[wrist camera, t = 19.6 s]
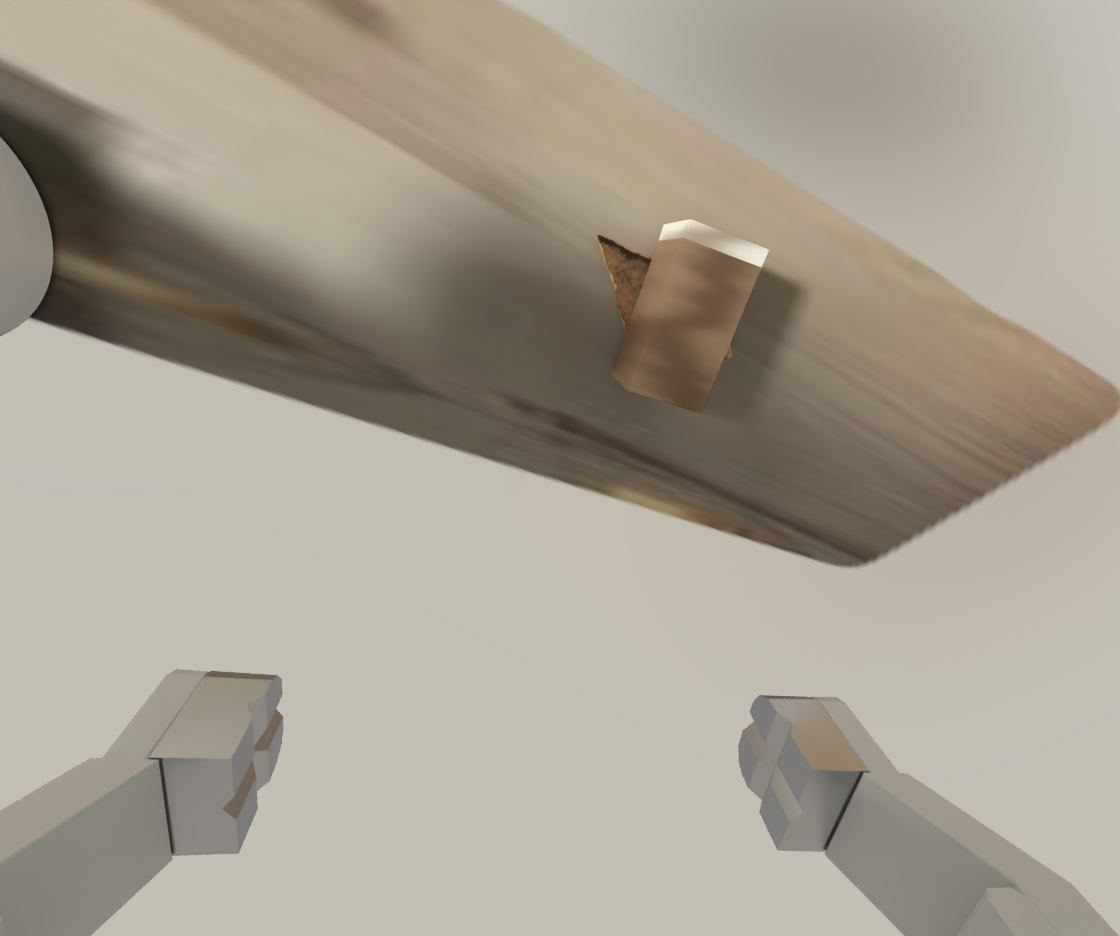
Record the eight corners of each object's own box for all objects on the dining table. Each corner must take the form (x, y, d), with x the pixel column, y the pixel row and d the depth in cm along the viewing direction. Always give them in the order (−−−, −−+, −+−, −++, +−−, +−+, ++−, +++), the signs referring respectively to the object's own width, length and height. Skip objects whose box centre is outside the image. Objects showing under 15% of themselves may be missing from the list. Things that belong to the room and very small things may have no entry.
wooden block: (627, 390, 33) (690, 219, 30) (610, 374, 38) (663, 224, 35) (701, 413, 34) (768, 249, 31) (676, 395, 39) (733, 251, 36)
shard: (593, 235, 36) (597, 234, 35) (702, 194, 36) (712, 191, 35) (637, 386, 41) (643, 392, 39) (735, 350, 40) (746, 355, 39)
